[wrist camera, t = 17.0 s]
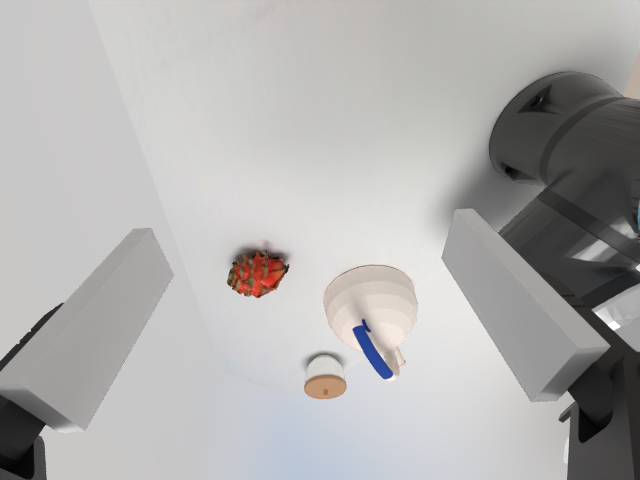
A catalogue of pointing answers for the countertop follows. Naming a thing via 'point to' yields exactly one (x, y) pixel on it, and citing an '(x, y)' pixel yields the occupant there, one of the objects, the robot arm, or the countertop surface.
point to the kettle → (373, 314)
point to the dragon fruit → (256, 274)
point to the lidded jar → (324, 378)
